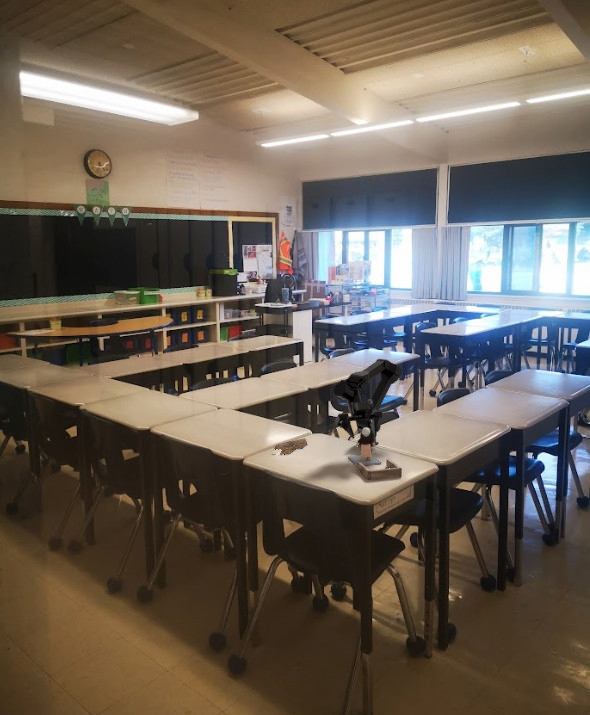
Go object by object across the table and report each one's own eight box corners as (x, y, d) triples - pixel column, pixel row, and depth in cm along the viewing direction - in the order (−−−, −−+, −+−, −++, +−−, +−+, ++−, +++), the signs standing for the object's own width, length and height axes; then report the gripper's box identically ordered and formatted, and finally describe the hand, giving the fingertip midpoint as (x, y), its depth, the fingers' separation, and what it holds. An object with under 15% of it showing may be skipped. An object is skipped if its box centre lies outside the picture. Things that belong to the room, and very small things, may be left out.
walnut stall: (356, 469, 224) (356, 461, 224) (388, 466, 228) (388, 458, 227) (368, 479, 214) (368, 471, 213) (401, 476, 217) (401, 468, 217)
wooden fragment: (283, 458, 237) (283, 455, 237) (261, 453, 243) (261, 450, 243) (318, 442, 258) (318, 439, 258) (297, 437, 264) (297, 435, 264)
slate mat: (347, 457, 237) (347, 456, 237) (371, 455, 240) (371, 454, 240) (357, 466, 228) (357, 464, 227) (381, 463, 230) (381, 462, 230)
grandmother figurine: (371, 456, 237) (372, 425, 235) (376, 459, 233) (377, 428, 231) (354, 458, 234) (354, 427, 232) (357, 461, 231) (358, 429, 229)
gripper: (338, 393, 232) (348, 429, 224) (382, 390, 237) (393, 425, 229) (331, 408, 241) (340, 443, 232) (373, 405, 246) (384, 439, 238)
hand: (364, 437), depth 233 cm, fingers open, 9 cm apart
